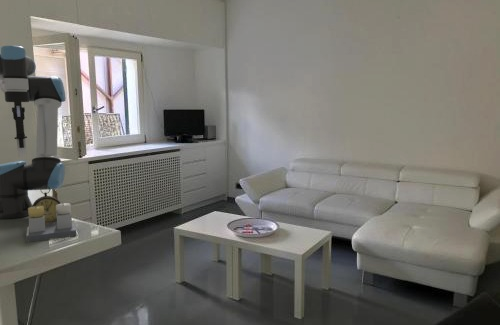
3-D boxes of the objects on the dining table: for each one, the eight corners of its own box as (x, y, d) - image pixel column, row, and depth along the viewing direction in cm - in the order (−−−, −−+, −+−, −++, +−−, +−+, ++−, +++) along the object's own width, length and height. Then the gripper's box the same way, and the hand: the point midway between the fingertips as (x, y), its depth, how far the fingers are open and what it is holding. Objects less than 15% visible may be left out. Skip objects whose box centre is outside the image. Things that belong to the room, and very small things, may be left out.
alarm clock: (32, 229, 153) (29, 188, 151) (32, 225, 158) (29, 185, 155) (63, 225, 158) (61, 185, 156) (62, 222, 163) (60, 183, 161)
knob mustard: (30, 227, 146) (28, 206, 145) (45, 226, 149) (43, 204, 148) (29, 231, 142) (27, 209, 141) (45, 229, 144) (43, 207, 143)
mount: (27, 231, 150) (26, 213, 149) (73, 225, 158) (72, 208, 157) (26, 242, 138) (25, 222, 137) (76, 235, 145) (75, 216, 144)
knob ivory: (56, 224, 150) (55, 203, 149) (71, 222, 153) (70, 202, 152) (57, 228, 146) (55, 206, 145) (72, 226, 148) (70, 204, 147)
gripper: (5, 91, 144) (11, 154, 148) (3, 90, 133) (10, 159, 137) (28, 91, 148) (33, 153, 152) (29, 90, 137) (34, 158, 141)
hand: (22, 156), depth 144 cm, fingers closed
